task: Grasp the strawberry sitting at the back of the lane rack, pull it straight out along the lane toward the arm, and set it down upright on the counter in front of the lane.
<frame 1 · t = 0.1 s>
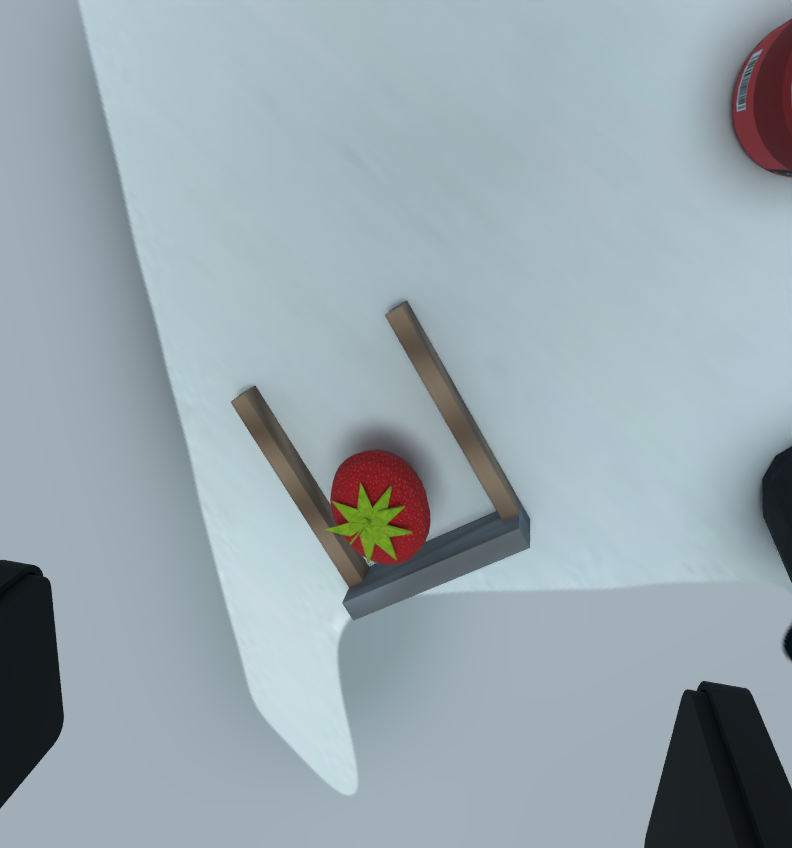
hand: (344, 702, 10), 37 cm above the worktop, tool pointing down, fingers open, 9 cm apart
strawberry: (396, 472, 50), on the worktop
lane rack: (381, 449, 50), on the worktop
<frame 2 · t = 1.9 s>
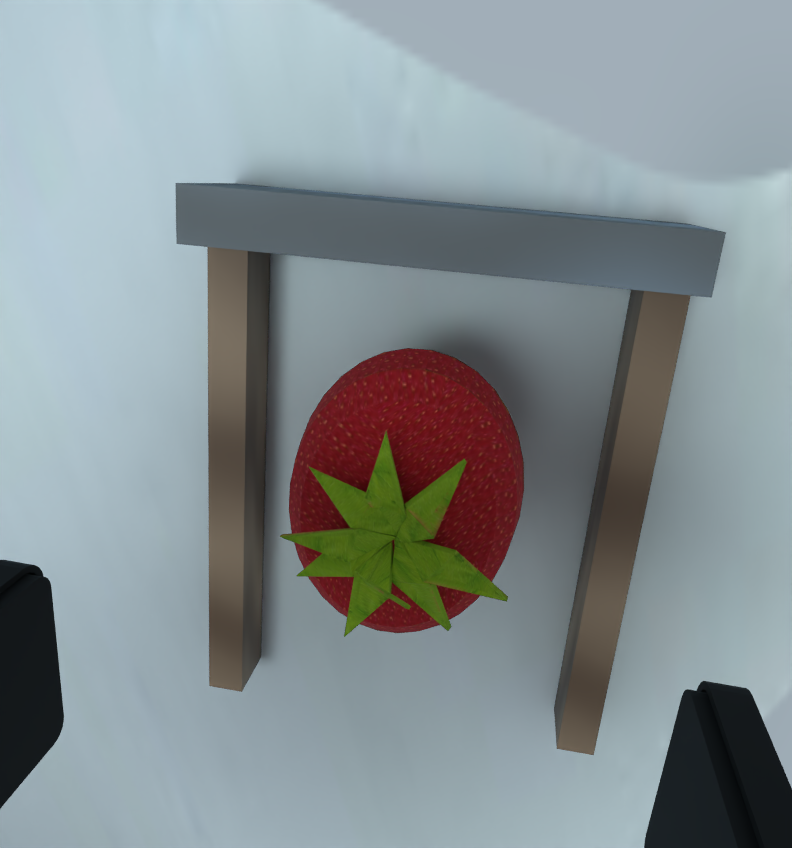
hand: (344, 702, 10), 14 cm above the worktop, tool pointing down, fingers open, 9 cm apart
strawberry: (430, 425, 24), on the worktop
lane rack: (423, 483, 24), on the worktop
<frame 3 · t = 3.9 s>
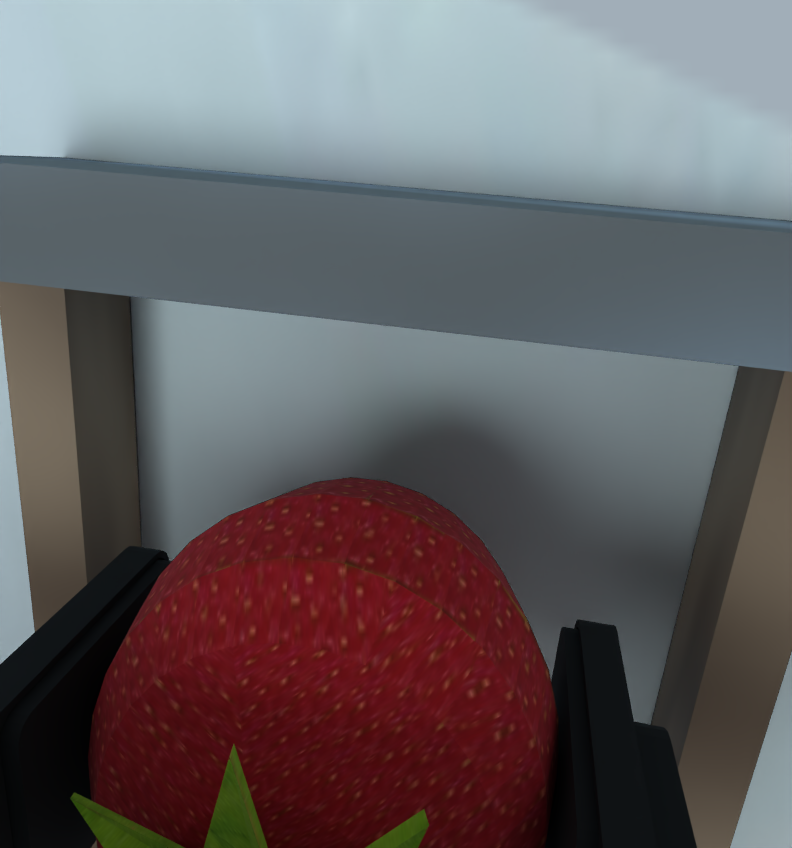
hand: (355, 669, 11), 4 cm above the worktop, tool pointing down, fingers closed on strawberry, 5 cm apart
strawberry: (397, 550, 15), on the worktop, touching gripper
lane rack: (389, 639, 15), on the worktop
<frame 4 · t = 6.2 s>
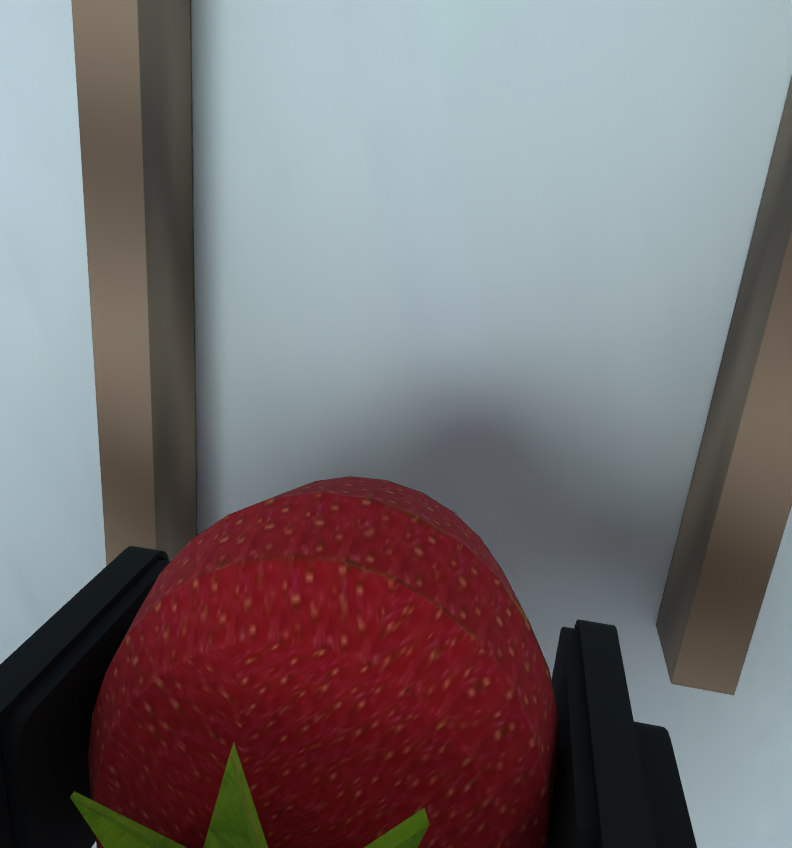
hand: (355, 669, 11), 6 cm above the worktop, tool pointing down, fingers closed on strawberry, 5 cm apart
strawberry: (397, 550, 15), point 2 cm above the worktop, touching gripper
lane rack: (453, 236, 14), on the worktop
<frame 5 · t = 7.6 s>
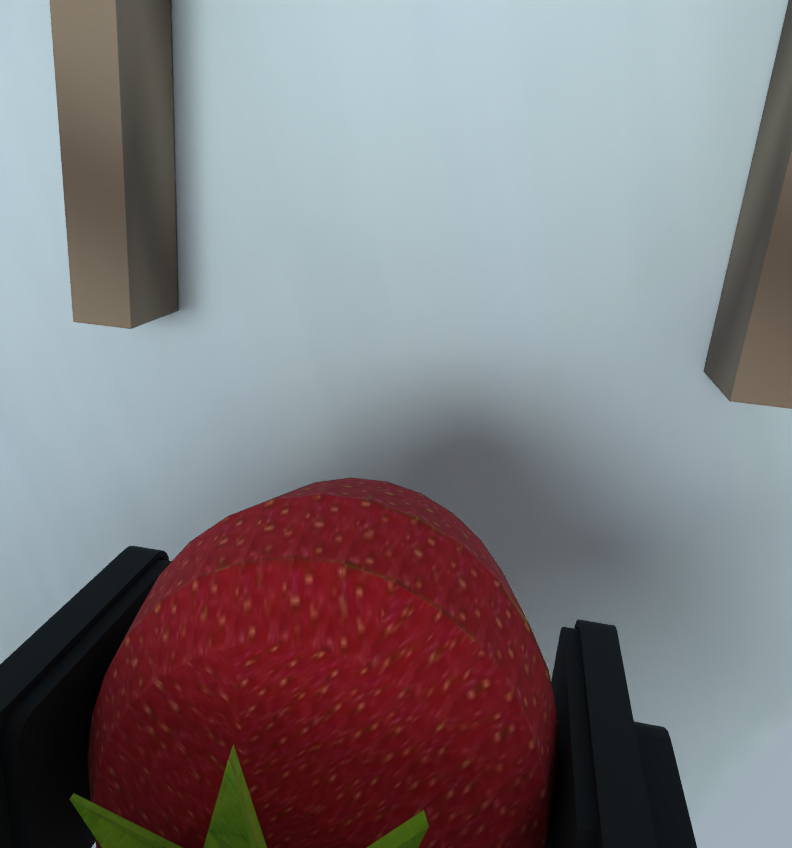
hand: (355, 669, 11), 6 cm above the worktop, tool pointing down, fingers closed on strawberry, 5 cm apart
strawberry: (397, 550, 15), point 2 cm above the worktop, touching gripper
when the fingers open (4 cm above the worktop, at t = 8.6 s): strawberry stays where it is, on the worktop.
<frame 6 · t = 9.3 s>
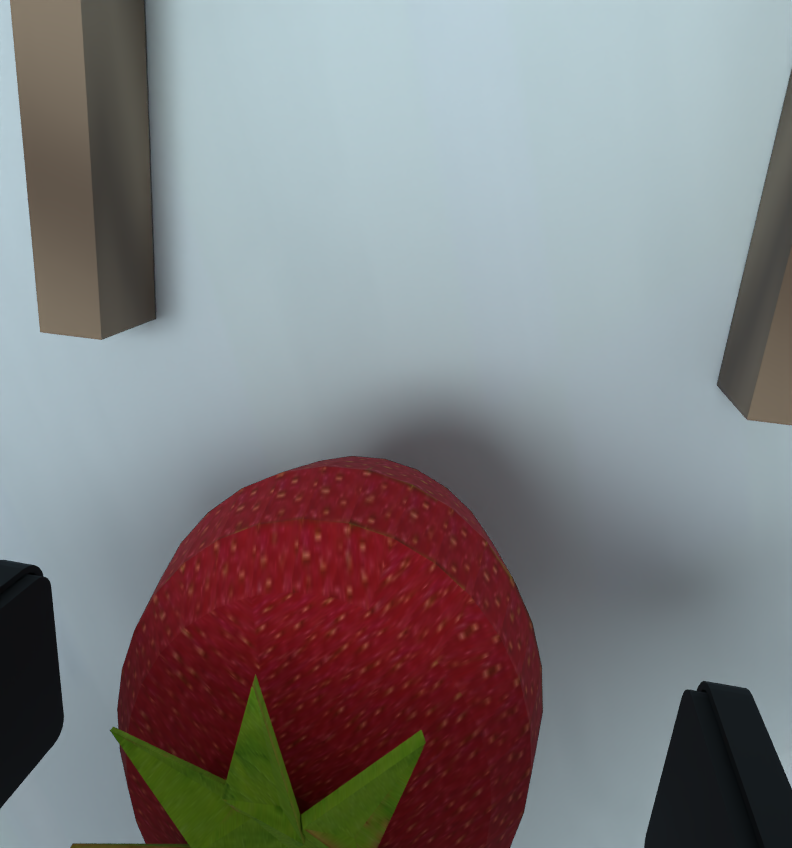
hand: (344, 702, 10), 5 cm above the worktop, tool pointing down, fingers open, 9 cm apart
strawberry: (395, 532, 16), on the worktop
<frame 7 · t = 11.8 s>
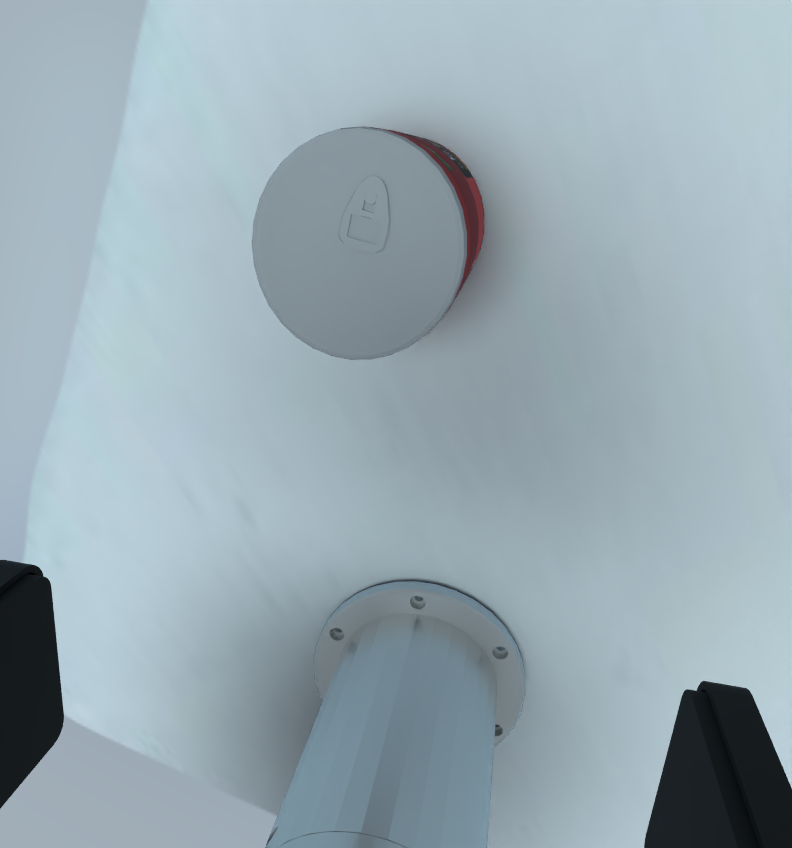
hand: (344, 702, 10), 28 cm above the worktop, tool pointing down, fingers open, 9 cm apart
canned food: (407, 224, 35), on the worktop
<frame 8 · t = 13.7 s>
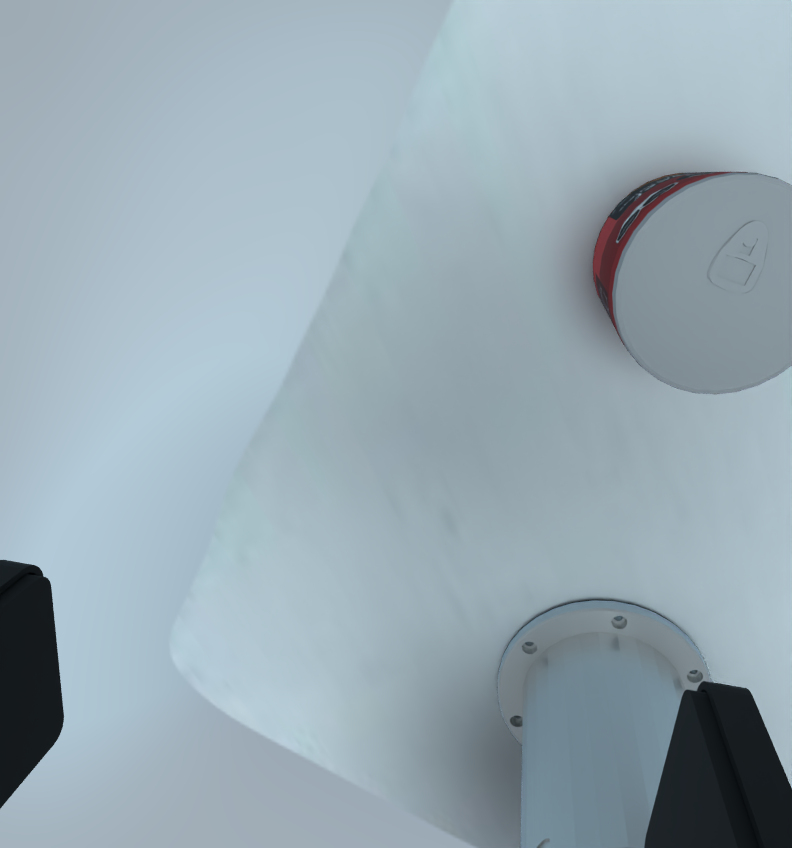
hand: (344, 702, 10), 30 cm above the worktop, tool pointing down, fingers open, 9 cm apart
canned food: (670, 256, 36), on the worktop
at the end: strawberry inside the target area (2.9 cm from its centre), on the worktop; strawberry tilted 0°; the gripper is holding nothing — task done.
